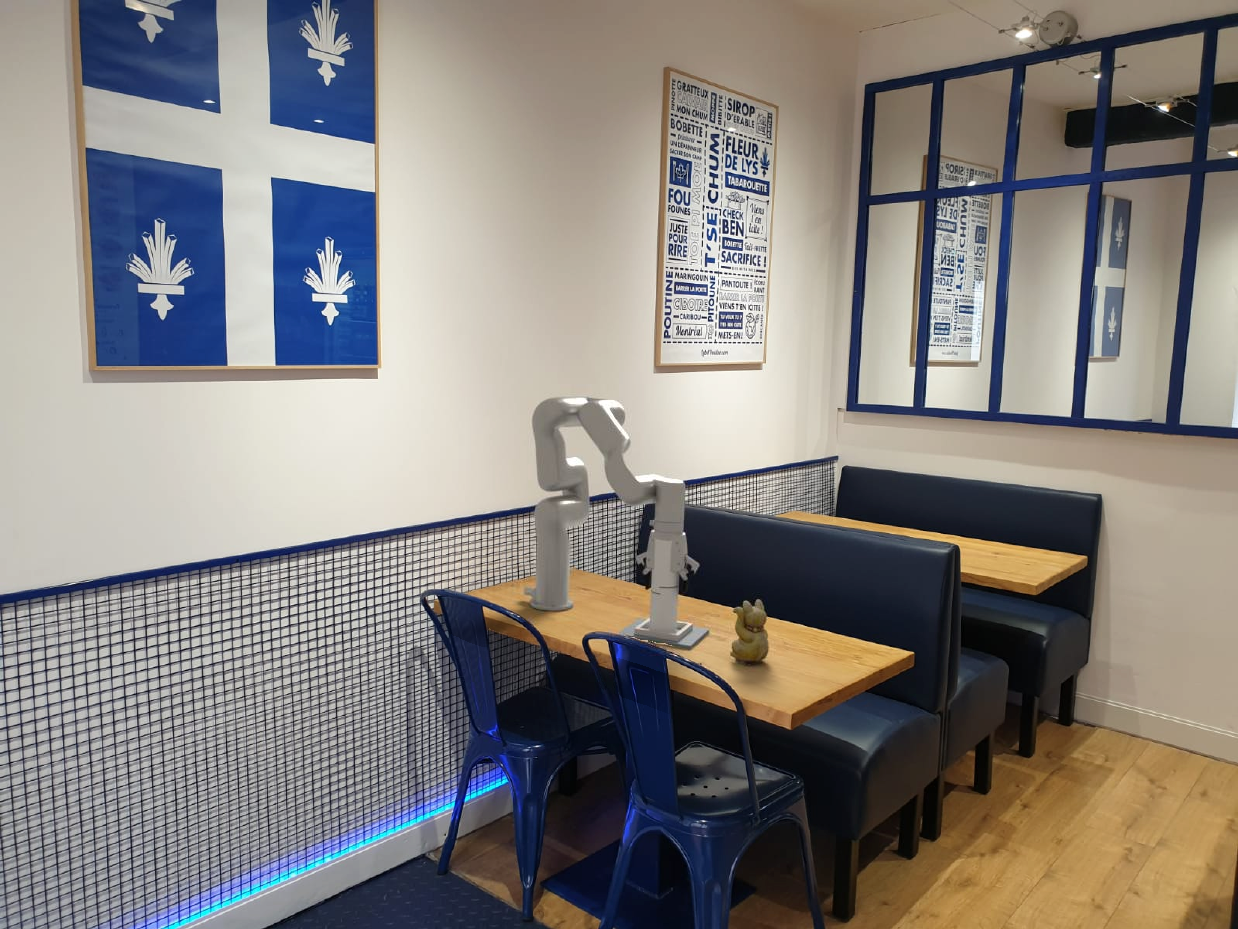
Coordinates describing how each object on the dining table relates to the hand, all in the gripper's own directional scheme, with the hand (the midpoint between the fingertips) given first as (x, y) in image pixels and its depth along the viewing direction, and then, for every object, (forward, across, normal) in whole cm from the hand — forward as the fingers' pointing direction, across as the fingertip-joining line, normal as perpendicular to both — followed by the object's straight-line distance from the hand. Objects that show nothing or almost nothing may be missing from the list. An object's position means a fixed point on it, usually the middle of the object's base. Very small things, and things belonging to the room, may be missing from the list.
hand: (665, 591), depth 246 cm
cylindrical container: (+11, 0, 0) cm, 11 cm away
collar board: (+12, 0, 0) cm, 12 cm away
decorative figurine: (+12, +26, -9) cm, 30 cm away
